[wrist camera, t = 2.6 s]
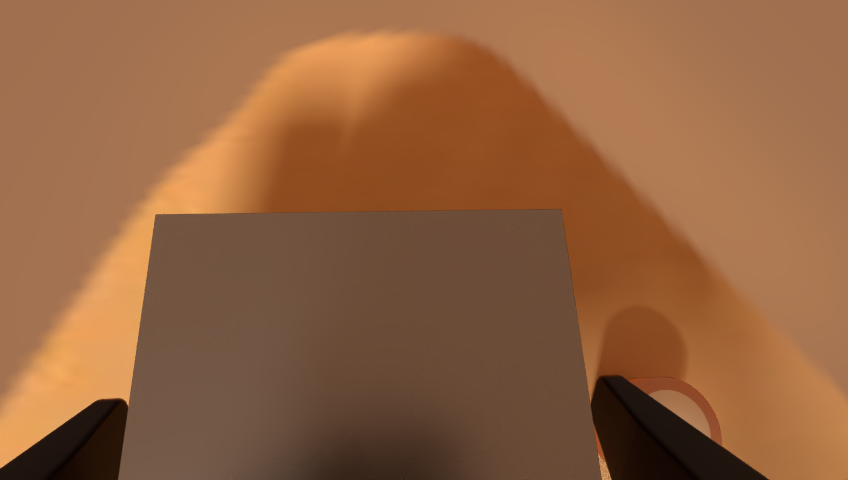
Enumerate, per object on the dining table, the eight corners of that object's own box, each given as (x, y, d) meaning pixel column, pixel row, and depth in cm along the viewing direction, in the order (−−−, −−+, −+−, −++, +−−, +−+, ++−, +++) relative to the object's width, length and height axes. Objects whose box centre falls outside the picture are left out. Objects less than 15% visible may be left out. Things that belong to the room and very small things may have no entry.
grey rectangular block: (470, 501, 16) (633, 692, 5) (284, 514, 15) (79, 754, 5) (457, 320, 18) (561, 209, 7) (292, 325, 17) (156, 214, 7)
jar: (684, 473, 16) (735, 485, 14) (596, 479, 16) (632, 493, 14) (665, 377, 17) (709, 374, 15) (581, 381, 17) (613, 379, 15)
